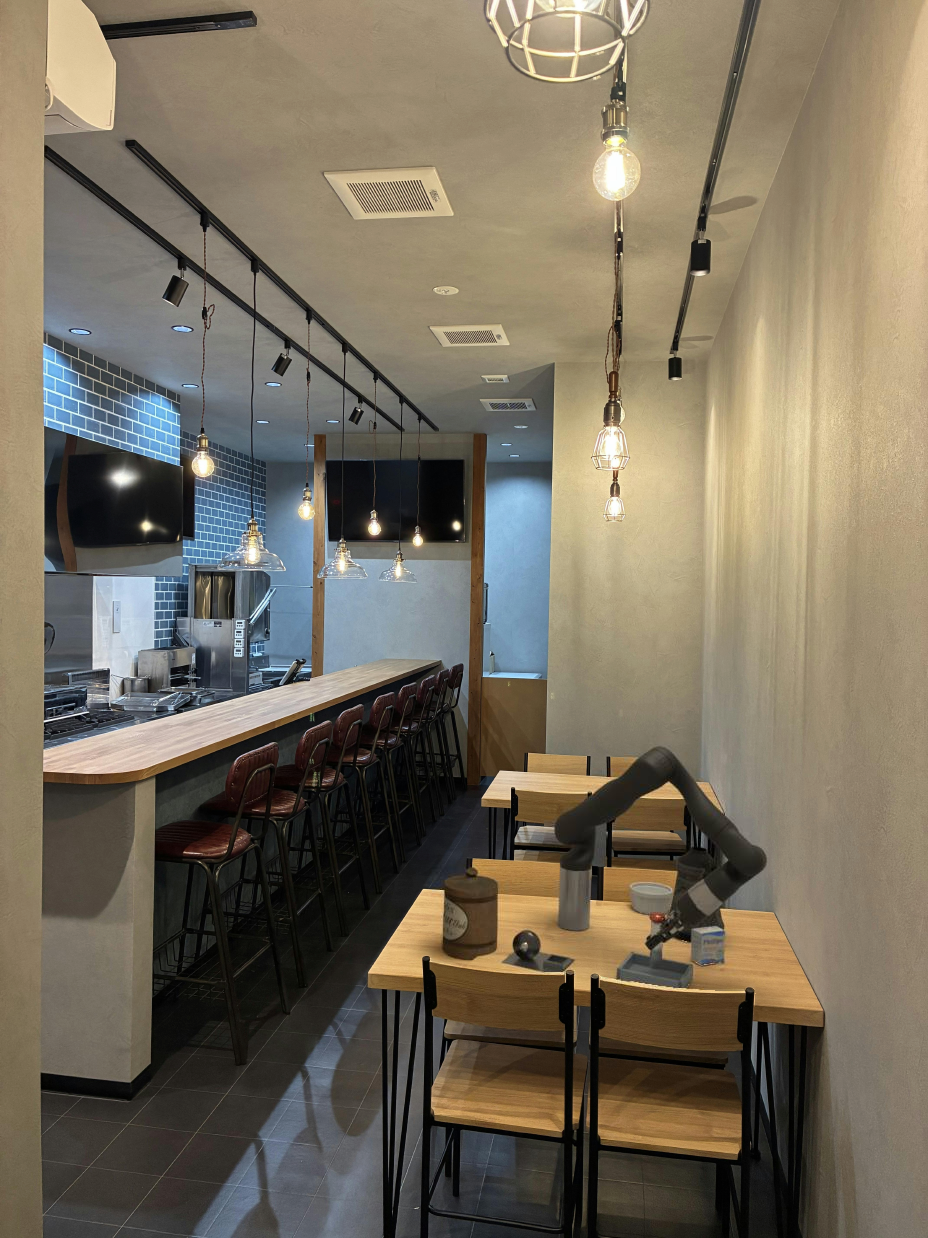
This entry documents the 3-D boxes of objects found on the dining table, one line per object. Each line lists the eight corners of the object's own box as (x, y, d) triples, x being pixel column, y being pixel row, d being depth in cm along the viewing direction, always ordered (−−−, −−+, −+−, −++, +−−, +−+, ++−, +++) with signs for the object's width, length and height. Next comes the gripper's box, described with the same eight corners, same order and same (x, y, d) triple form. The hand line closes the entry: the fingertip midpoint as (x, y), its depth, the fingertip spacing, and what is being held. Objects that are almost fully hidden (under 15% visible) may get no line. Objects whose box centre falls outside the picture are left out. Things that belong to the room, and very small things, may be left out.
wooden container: (434, 942, 239) (437, 862, 239) (484, 937, 244) (487, 859, 244) (453, 963, 225) (455, 878, 225) (505, 957, 231) (508, 874, 231)
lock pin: (650, 963, 221) (651, 911, 221) (665, 966, 219) (666, 913, 219) (646, 968, 217) (648, 915, 218) (661, 971, 216) (663, 918, 216)
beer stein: (683, 920, 265) (686, 838, 265) (743, 938, 251) (746, 851, 251) (654, 933, 253) (657, 847, 253) (716, 952, 239) (719, 861, 239)
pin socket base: (519, 951, 235) (520, 921, 235) (575, 963, 228) (576, 933, 228) (500, 966, 224) (501, 935, 224) (559, 979, 217) (560, 947, 217)
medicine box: (700, 967, 229) (701, 933, 229) (689, 960, 233) (691, 928, 233) (724, 963, 232) (725, 930, 232) (713, 957, 236) (714, 925, 236)
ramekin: (645, 900, 283) (646, 879, 283) (680, 911, 273) (681, 889, 273) (620, 908, 274) (621, 886, 274) (655, 920, 264) (656, 897, 264)
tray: (630, 965, 228) (631, 952, 228) (692, 978, 221) (693, 964, 221) (616, 983, 216) (617, 969, 216) (681, 997, 209) (681, 983, 209)
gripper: (689, 882, 223) (640, 923, 226) (687, 898, 210) (634, 942, 213) (710, 905, 221) (660, 946, 225) (710, 923, 208) (656, 967, 211)
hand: (648, 944), depth 219 cm, fingers closed on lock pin, 3 cm apart
